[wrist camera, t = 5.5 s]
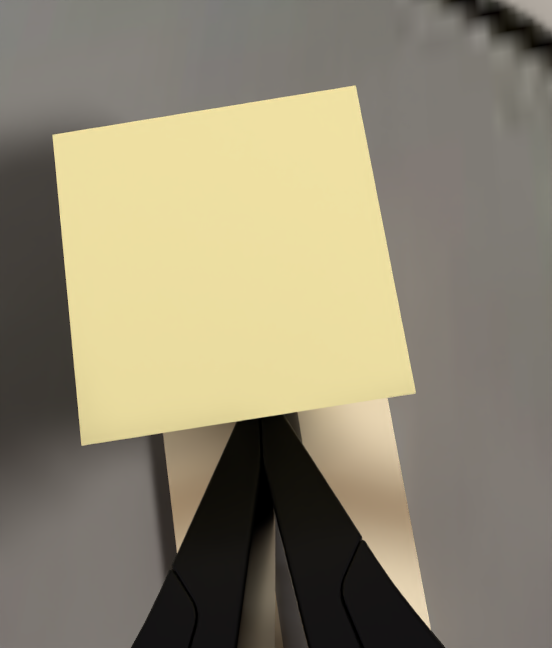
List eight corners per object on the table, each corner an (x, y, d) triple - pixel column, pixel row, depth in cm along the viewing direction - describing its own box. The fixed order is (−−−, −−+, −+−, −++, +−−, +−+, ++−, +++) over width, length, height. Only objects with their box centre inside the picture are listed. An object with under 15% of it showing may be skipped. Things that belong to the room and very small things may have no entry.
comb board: (461, 830, 16) (526, 1000, 11) (223, 865, 16) (198, 1046, 11) (345, 207, 19) (362, 152, 14) (148, 239, 19) (105, 194, 15)
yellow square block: (343, 391, 16) (415, 393, 7) (201, 413, 16) (82, 445, 7) (319, 253, 17) (355, 85, 8) (183, 275, 17) (52, 134, 8)
